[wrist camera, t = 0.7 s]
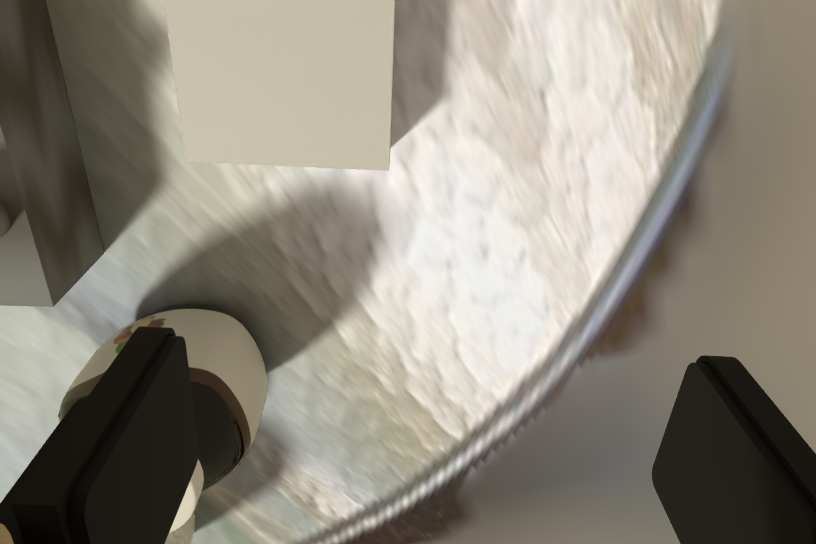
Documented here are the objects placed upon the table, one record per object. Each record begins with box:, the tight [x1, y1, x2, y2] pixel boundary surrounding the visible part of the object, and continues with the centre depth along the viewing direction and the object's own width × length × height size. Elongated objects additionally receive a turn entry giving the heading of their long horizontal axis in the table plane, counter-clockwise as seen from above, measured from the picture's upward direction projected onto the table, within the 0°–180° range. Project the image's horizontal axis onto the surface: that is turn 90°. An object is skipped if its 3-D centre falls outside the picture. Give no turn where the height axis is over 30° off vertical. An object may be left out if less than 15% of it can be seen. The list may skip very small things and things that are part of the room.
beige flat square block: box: [164, 0, 396, 171], centre depth 29 cm, size 10×10×4 cm
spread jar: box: [58, 305, 267, 532], centre depth 36 cm, size 12×11×12 cm
